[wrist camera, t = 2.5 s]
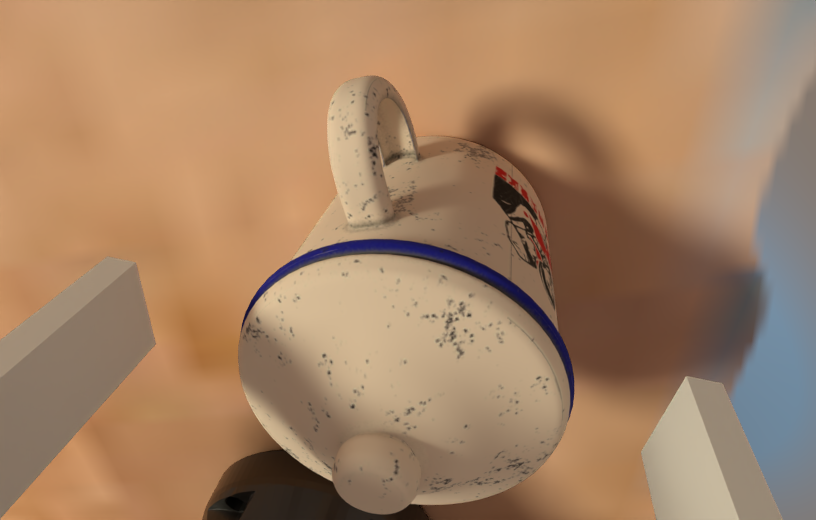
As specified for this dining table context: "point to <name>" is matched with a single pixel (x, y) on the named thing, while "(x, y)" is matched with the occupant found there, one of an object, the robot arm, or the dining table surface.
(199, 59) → the dining table surface
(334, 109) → the teacup with lid
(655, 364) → the dining table surface
